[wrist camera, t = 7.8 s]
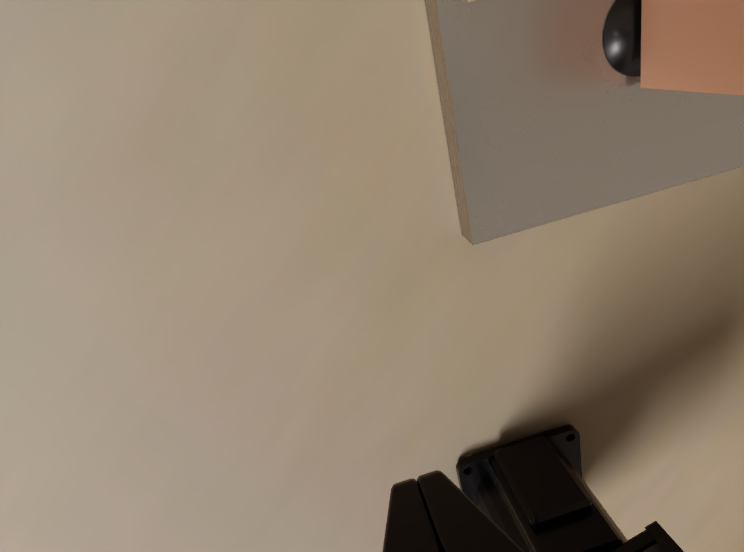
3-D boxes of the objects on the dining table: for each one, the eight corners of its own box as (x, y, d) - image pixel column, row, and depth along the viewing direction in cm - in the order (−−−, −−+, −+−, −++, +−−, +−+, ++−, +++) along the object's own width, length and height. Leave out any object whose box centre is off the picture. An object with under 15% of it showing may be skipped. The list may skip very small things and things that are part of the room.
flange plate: (898, 108, 21) (933, 111, 20) (461, 234, 20) (473, 245, 19) (988, -268, 16) (1043, -293, 15) (404, -132, 14) (415, -149, 13)
